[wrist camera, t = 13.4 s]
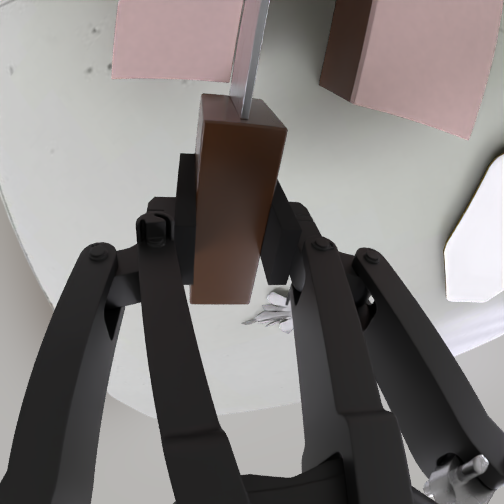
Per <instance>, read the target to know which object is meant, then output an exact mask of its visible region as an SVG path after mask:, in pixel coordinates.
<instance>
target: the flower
mask: <svg viewBox="0 0 504 504" xmlns="http://www.w3.org/2000/svg"><path fill="white" fill-rule="evenodd" d="M286 299H287V298H285V297H283V296H281V295H279V294H277V293H275V292H272V293H270V294H269V295H268V298H267V300H268V301H269V302H270V303H271V304H274V305H279V306H278V307H276V306H274V305H262V306H263V308H264V309H265V310H269V311H264V312H262V313H261V314H260V315H258V316H257V317H255V319H254V320H250V321H247V322H244V323H242V324H245V325H246V324H252V323H254V322H256V321H258V322H259V323H267V322H269V321H272V320H275V319H280V320H278V321H274V322H271V323H270V324H268V325H267V326H270V325H274V324H276V323H278V322H280V321H281V320H283V319H289V320H287V321H285V322H282V323H279V329H280V330H281V331H283V332H286V333H288V334H289V333H290V332H291V331H292V330H293V329H294V328H293V319H292V311H291V303H290V301H289V303H288V306H287V305H285V303H286ZM273 310H278V311H277V312H272V311H273ZM281 318H283V319H281ZM267 326H265V327H267Z"/></svg>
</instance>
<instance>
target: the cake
mask: <svg viewBox="0 0 504 504" xmlns="http://www.w3.org/2000/svg"><path fill="white" fill-rule="evenodd" d="M502 7H503V0H336V5H335V10H334V15H333V20H332V25H331V29H330V34H329V39H328V44H327V49H326V54H325V58H324V63H323V68H322V72H321V77H320V82H319V85H320V86H322V87H324V88H325V89H327V90H329V91H331V92H333V93H335V94H336V95H338V96H340V97H342V98H344V99H345V100H347V101H349V102H351V103H352V104H354V105H358V106H362V107H366V108H370V109H374V110H378V111H382V112H385V113H389V114H392V115H396V116H399V117H402V118H406V119H409V120H412V121H415V122H418V123H421V124H424V125H427V126H430V127H433V128H436V129H439V130H442V131H445V132H447V133H450V134H453V135H455V136H458V137H461V138H463V139H466V140H469V139H470V136H471V133H472V130H473V127H474V124H475V121H476V118H477V115H478V112H479V109H480V105H481V102H482V99H483V95H484V92H485V88H486V84H487V81H488V77H489V73H490V69H491V65H492V61H493V56H494V52H495V47H496V42H497V37H498V32H499V26H500V20H501V14H502Z"/></svg>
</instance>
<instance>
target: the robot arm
mask: <svg viewBox="0 0 504 504" xmlns="http://www.w3.org/2000/svg"><path fill="white" fill-rule="evenodd" d="M136 234H137V244H136V245H134V246H132V247H130V248H127V249H124V250H119V251H116V249H115V247H114V246H112V245H111V244H109V243H104V242H101V243H94V244H91V245H89V246H87V247H86V248H84V250H83V251H82V252H81V254H80V256H79V258H78V260H77V262H76V264H75V266H74V268H73V270H72V272H71V274H70V276H69V279H68V281H67V283H66V285H65V287H64V290H63V292H62V294H61V297H60V299H59V301H58V303H57V306H56V308H55V311H54V313H53V316H52V318H51V320H50V323H49V326H48V328H47V331H46V333H45V336H44V339H43V341H42V344H41V347H40V350H39V352H38V355H37V358H36V361H35V364H34V367H33V370H32V373H31V376H30V379H29V383H28V386H27V389H26V392H25V396H24V399H23V403H22V406H21V410H20V414H19V418H18V422H17V426H16V430H15V434H14V439H13V443H12V448H11V453H10V458H9V463H8V469H7V472H6V474H5V476H4V477H3V479H2V481H1V483H0V504H91V498H92V491H93V482H94V472H95V463H96V455H97V447H98V440H99V432H100V426H101V420H102V413H103V408H104V402H105V396H106V391H107V386H108V381H109V376H110V371H111V366H112V361H113V357H114V352H115V347H116V343H117V339H118V335H119V330H120V326H121V322H122V318H123V314H124V310H125V306H127V305H131V304H136V303H140V302H141V306H142V316H143V325H144V334H145V342H146V350H147V358H148V365H149V372H150V378H151V385H152V391H153V397H154V402H155V408H156V413H157V419H158V424H159V429H160V434H161V440H162V447H163V452H164V456H165V461H166V465H167V469H168V473H169V477H170V481H171V485H172V489H173V492H174V496H175V500H176V501H175V502H174V503H173V504H488V502H489V501H490V499H491V497H492V496H493V494H494V492H495V491H496V490H497V489H498V488H500V487H502V486H504V432H503V431H502V430H501V429H500V428H499V427H498V426H497V425H496V424H495V423H494V422H493V421H492V419H491V418H490V417H489V416H488V415H487V413H486V411H485V409H484V408H483V406H482V404H481V402H480V401H479V399H478V397H477V395H476V394H475V392H474V390H473V388H472V386H471V385H470V383H469V381H468V380H467V378H466V376H465V375H464V373H463V372H462V370H461V368H460V366H459V365H458V363H457V362H456V360H455V358H454V357H453V355H452V353H451V352H450V350H449V349H448V347H447V346H446V344H445V343H444V341H443V339H442V338H441V336H440V335H439V333H438V332H437V330H436V329H435V327H434V326H433V324H432V323H431V321H430V320H429V318H428V317H427V316H426V314H425V313H424V311H423V310H422V308H421V307H420V305H419V304H418V303H417V301H416V300H415V298H414V297H413V295H412V294H411V293H410V291H409V290H408V289H407V287H406V286H405V284H404V283H403V282H402V280H401V279H400V278H399V276H398V275H397V274H396V272H395V271H394V270H393V268H392V267H391V266H390V264H389V263H388V262H387V260H386V259H385V258H384V257H383V256H382V255H381V254H380V253H379V252H377V251H376V250H374V249H371V248H359V249H358V250H357V251H356V254H355V256H353V255H349V254H345V253H342V252H339V251H338V249H337V247H336V245H335V244H334V243H333V242H332V241H331V240H329V239H327V238H325V237H322V236H321V234H320V232H319V230H318V228H317V226H316V224H315V223H314V222H313V219H312V217H311V216H310V213H309V212H308V210H307V208H306V207H304V206H303V205H302V204H301V203H299V202H288V200H287V198H286V196H285V194H284V192H283V190H282V187H281V185H280V183H279V181H278V179H277V182H276V186H275V191H274V196H273V200H272V204H271V209H270V213H269V218H268V222H267V227H266V231H265V236H264V240H263V245H262V249H261V254H260V256H261V260H262V264H263V268H264V271H265V275H266V279H267V282H268V285H286V283H287V280H288V277H289V275H290V278H291V281H292V283H291V287H290V290H289V293H288V296H287V299H286V303H285V305H287V306H288V303H289V301H290V303H291V311H292V319H293V328H294V337H295V346H296V355H297V364H298V373H299V383H300V393H301V403H302V414H303V425H304V435H305V448H304V452H303V456H302V474H299V475H297V476H295V477H291V478H284V477H272V476H261V475H252V474H248V475H240V472H239V469H238V466H237V463H236V460H235V457H234V454H233V451H232V448H231V445H230V442H229V440H228V437H227V435H226V433H225V432H224V431H223V430H222V428H221V426H220V424H219V421H218V418H217V414H216V411H215V408H214V404H213V401H212V397H211V394H210V390H209V386H208V383H207V379H206V376H205V372H204V368H203V364H202V361H201V357H200V353H199V349H198V345H197V341H196V337H195V333H194V329H193V325H192V321H191V316H190V312H189V308H188V303H187V299H186V295H185V290H184V285H193V283H194V259H195V240H196V199H195V154H184V153H180V162H179V171H178V182H177V192H176V197H154V198H153V199H152V200H151V201H150V202H149V203H148V208H147V212H146V214H143V215H141V216H140V217H139V218H138V219H137V221H136ZM371 295H372V297H373V298H374V302H373V304H371V303H370V301H369V297H370V296H371ZM376 381H377V382H376ZM377 383H378V385H379V387H380V389H381V391H382V393H383V395H384V397H385V399H386V401H387V403H388V405H389V408H390V409H391V412H389V411H386V410H384V408H383V406H382V403H381V399H380V395H379V390H378V386H377ZM400 430H401V431H400ZM401 433H402V435H403V437H404V439H405V441H406V443H407V445H408V447H409V450H410V452H411V454H412V455H413V457H414V459H415V461H416V463H417V464H418V466H419V467H420V469H421V470H422V472H423V473H424V474H425V475H426V476H427V478H428V479H429V480H428V481H427V482H426V483H425V484H424V493H425V494H426V495H427V496H434V498H435V501H434V500H432V499H430V498H429V497H427V496H426V495H424V494H423V493H421V492H420V491H418V490H417V489H415V488H414V487H413V486H411V480H410V475H409V469H408V464H407V459H406V454H405V449H404V445H403V440H402V435H401Z"/></svg>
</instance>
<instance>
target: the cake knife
mask: <svg viewBox="0 0 504 504" xmlns="http://www.w3.org/2000/svg"><path fill="white" fill-rule="evenodd" d="M269 3H270V0H245V4H244V9H243V15H242V21H241V26H240V32H239V38H238V44H237V50H236V56H235V62H234V68H233V75H232V81H231V88H230V94H229V95H230V96H227V95H216V94H202V95H201V100H200V109H199V118H198V128H197V138H196V148H195V199H196V240H195V259H194V283H193V285H189V291H190V304H249V303H250V298H251V294H252V289H253V285H254V281H255V276H256V272H257V267H258V263H259V258H260V254H261V249H262V245H263V240H264V236H265V231H266V227H267V222H268V218H269V213H270V209H271V204H272V200H273V196H274V191H275V186H276V182H277V177H278V173H279V168H280V164H281V159H282V154H283V150H284V145H285V141H286V136H287V131H288V130H287V128H286V127H285V126H284V124H283V123H282V122H281V121H280V120H279V118H278V117H277V116H276V115H275V114H274V113H273V112H272V110H271V109H270V108H269V107H268V106H267V105H266V104H265V102H264V101H263V100H262V99H255V98H252V96H253V90H254V85H255V79H256V73H257V68H258V62H259V57H260V51H261V46H262V40H263V35H264V29H265V24H266V19H267V13H268V8H269Z"/></svg>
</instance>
